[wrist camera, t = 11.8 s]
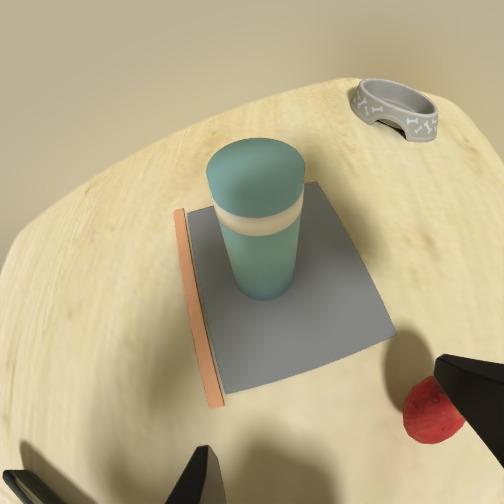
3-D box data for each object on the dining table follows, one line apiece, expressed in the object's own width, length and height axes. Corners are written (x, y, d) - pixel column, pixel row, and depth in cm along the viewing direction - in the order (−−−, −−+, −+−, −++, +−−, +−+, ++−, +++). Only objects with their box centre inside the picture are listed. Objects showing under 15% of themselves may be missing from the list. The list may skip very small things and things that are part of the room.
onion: (378, 403, 19) (423, 397, 12) (425, 369, 19) (477, 347, 13) (402, 452, 16) (452, 462, 9) (448, 415, 16) (502, 407, 10)
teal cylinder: (275, 311, 24) (275, 216, 13) (222, 282, 26) (185, 180, 15) (304, 263, 26) (320, 153, 15) (254, 239, 28) (241, 130, 17)
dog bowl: (360, 89, 49) (363, 69, 44) (436, 119, 43) (442, 99, 38) (339, 117, 42) (342, 91, 37) (435, 155, 36) (445, 131, 31)
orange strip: (224, 405, 20) (223, 405, 20) (210, 408, 20) (210, 408, 19) (183, 210, 32) (183, 208, 31) (174, 213, 31) (173, 211, 31)
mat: (226, 394, 20) (225, 394, 20) (187, 215, 31) (187, 213, 31) (395, 334, 22) (397, 333, 21) (316, 183, 32) (316, 181, 32)
